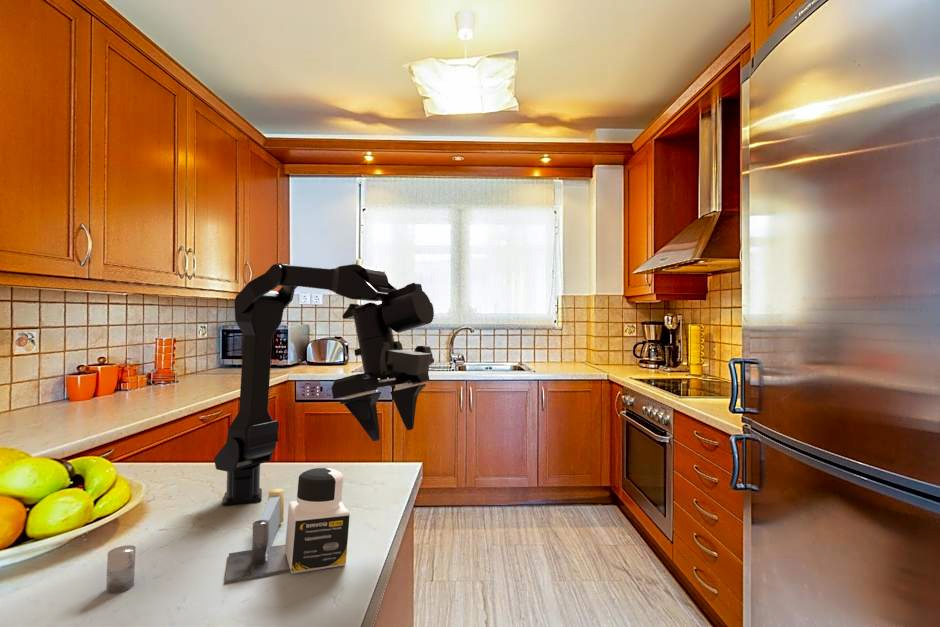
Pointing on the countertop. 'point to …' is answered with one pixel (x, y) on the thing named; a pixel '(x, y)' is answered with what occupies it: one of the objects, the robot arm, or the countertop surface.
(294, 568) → the medicine bottle
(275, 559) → the peg on base plate
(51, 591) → the countertop surface
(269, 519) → the gate
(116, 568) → the post
